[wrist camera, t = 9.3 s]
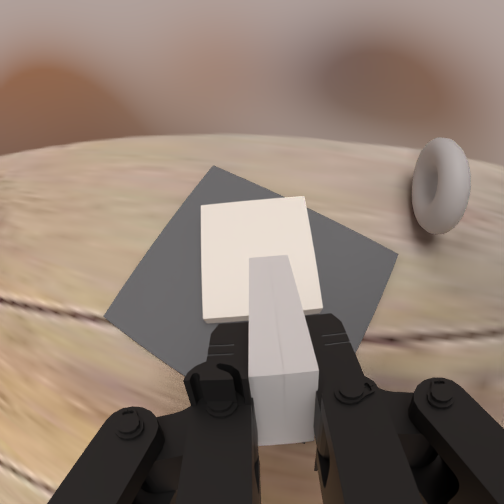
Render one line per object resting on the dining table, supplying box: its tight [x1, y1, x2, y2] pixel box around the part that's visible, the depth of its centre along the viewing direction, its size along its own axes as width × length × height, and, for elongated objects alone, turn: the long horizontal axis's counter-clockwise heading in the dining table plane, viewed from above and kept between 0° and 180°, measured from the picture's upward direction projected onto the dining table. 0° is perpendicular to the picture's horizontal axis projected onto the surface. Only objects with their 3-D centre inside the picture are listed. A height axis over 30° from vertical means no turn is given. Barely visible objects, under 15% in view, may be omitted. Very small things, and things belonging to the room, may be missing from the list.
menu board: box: [201, 196, 323, 323], centre depth 29 cm, size 2×10×11 cm
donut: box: [412, 138, 471, 234], centre depth 28 cm, size 10×4×10 cm, turn 172°
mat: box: [103, 166, 398, 444], centre depth 30 cm, size 22×20×1 cm
